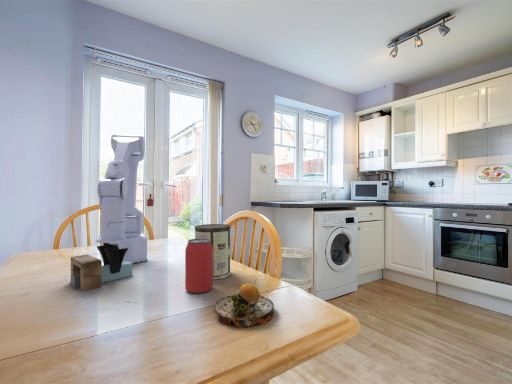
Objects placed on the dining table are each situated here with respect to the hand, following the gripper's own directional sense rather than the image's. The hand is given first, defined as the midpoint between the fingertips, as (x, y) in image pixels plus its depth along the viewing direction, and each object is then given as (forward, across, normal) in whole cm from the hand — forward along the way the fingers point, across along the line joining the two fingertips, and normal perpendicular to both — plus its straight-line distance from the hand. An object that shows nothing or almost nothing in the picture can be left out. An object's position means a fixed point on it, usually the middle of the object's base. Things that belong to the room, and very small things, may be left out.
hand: (112, 271), depth 73 cm
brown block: (+2, 0, -6) cm, 7 cm away
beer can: (+2, +25, +10) cm, 27 cm away
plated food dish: (+2, +42, +8) cm, 43 cm away
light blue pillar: (+2, 0, -1) cm, 2 cm away
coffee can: (+2, +18, +20) cm, 27 cm away
